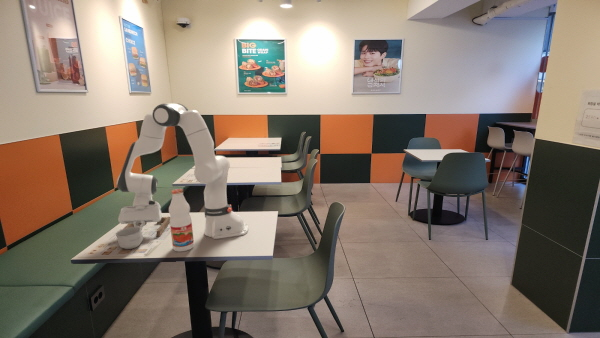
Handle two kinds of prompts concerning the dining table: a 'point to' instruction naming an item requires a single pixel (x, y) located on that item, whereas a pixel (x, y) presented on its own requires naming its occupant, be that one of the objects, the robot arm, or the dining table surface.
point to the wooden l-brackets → (164, 221)
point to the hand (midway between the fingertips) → (137, 230)
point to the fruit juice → (180, 222)
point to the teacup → (129, 237)
